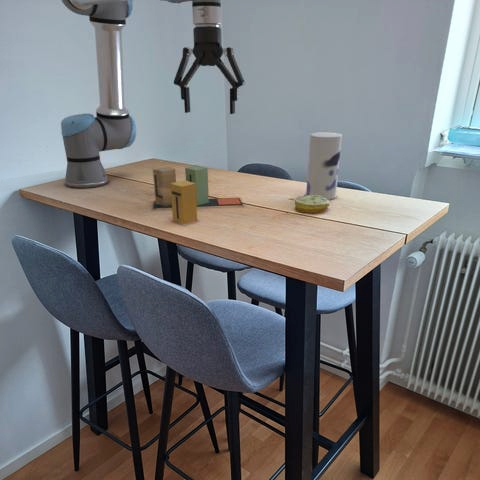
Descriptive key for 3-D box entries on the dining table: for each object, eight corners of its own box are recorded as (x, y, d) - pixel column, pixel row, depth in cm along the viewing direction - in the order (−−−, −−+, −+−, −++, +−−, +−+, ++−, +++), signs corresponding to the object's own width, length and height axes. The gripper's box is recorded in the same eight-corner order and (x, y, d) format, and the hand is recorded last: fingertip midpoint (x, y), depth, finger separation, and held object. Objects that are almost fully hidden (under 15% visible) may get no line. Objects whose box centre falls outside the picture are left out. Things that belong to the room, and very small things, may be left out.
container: (328, 202, 154) (335, 137, 144) (301, 197, 158) (305, 134, 148) (340, 195, 161) (346, 133, 151) (313, 191, 165) (318, 130, 155)
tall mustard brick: (172, 221, 136) (170, 183, 130) (186, 217, 139) (184, 180, 134) (183, 225, 133) (181, 186, 127) (197, 221, 136) (195, 183, 130)
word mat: (153, 210, 146) (153, 207, 146) (154, 202, 154) (154, 199, 153) (242, 206, 149) (242, 204, 149) (239, 199, 157) (239, 196, 156)
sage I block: (186, 202, 151) (184, 167, 146) (198, 199, 154) (197, 165, 149) (196, 206, 148) (195, 170, 142) (208, 202, 151) (207, 167, 146)
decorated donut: (335, 209, 147) (336, 197, 145) (315, 216, 140) (316, 204, 138) (307, 202, 153) (308, 190, 151) (287, 209, 146) (288, 197, 144)
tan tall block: (155, 203, 150) (152, 168, 144) (168, 200, 153) (165, 166, 148) (164, 207, 147) (161, 171, 141) (177, 203, 150) (175, 168, 144)
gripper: (158, 26, 124) (164, 113, 135) (249, 25, 119) (248, 115, 130) (168, 27, 131) (174, 110, 141) (255, 26, 125) (254, 112, 136)
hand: (209, 113), depth 135 cm, fingers open, 13 cm apart
